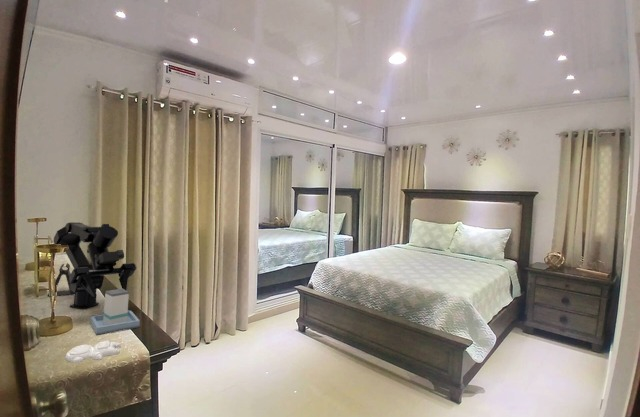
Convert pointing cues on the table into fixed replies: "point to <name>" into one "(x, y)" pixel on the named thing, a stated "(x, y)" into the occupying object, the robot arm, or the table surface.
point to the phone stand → (67, 273)
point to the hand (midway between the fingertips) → (110, 293)
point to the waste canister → (115, 306)
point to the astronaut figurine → (92, 351)
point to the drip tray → (102, 328)
